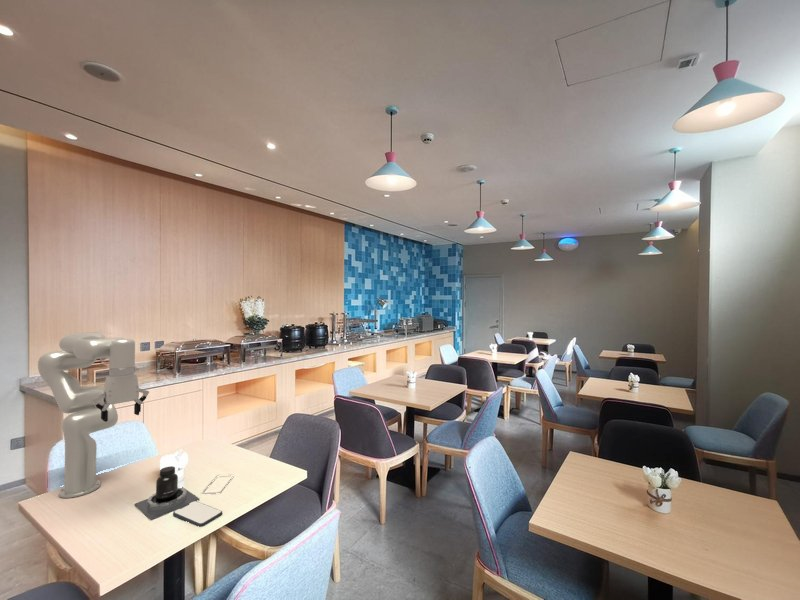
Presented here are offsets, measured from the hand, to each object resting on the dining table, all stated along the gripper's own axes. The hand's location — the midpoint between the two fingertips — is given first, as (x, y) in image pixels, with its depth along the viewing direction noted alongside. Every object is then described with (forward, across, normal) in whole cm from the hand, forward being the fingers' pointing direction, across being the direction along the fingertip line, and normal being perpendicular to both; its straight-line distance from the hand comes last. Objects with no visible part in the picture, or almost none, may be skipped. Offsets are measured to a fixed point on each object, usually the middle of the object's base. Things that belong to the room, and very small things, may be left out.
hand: (121, 417), depth 132 cm
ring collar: (+32, -11, +13) cm, 37 cm away
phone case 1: (+33, -14, +30) cm, 47 cm away
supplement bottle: (+32, -11, +13) cm, 36 cm away
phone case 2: (+33, -29, +15) cm, 47 cm away
